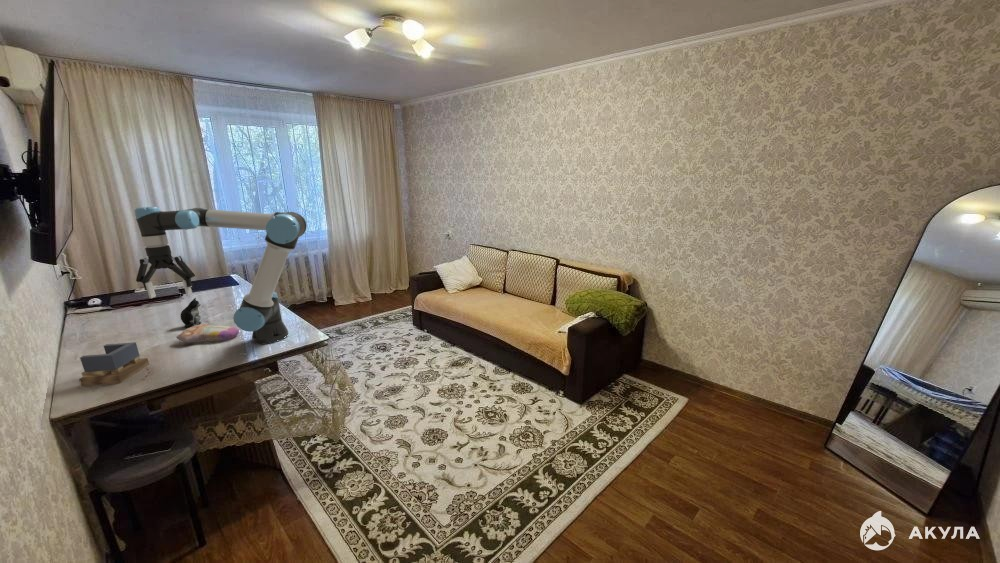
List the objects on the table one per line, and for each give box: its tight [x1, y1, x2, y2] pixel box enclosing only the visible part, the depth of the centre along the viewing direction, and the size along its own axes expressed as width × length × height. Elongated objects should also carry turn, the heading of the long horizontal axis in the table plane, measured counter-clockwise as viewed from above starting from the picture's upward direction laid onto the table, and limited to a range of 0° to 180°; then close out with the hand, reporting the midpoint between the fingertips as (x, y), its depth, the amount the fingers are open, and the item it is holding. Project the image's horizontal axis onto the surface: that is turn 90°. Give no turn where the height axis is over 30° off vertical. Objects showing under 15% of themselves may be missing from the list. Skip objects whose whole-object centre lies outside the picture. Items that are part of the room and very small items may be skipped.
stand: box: [79, 356, 150, 387], centre depth 150 cm, size 13×15×5 cm
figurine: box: [180, 297, 202, 329], centre depth 198 cm, size 10×10×15 cm
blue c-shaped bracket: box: [79, 341, 140, 372], centre depth 149 cm, size 10×12×6 cm
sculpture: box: [175, 323, 240, 343], centre depth 185 cm, size 17×7×25 cm
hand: (171, 295), depth 159 cm, fingers open, 13 cm apart
